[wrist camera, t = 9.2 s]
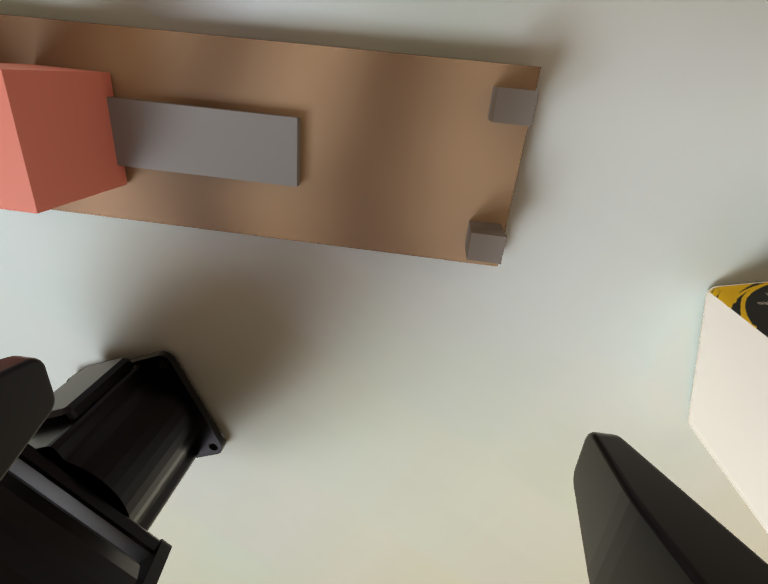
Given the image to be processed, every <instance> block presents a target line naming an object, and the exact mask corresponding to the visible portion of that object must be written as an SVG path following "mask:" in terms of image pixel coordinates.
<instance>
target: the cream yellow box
mask: <svg viewBox="0 0 768 584" xmlns="http://www.w3.org/2000/svg"><path fill="white" fill-rule="evenodd" d="M688 422H689V426H690V427H691V428H692V430H693V431H694V433H695V434H696V435H697V437H698V438H699V439H700V441H701V442H702V444H703V445H704V446H705V448H706V449H707V450H708V452H709V453H710V455H711V456H712V457H713V459H714V460H715V461H716V463H717V464H718V466H719V467H720V468H721V470H722V471H723V473H724V474H725V475H726V477H727V478H728V479H729V481H730V482H731V484H732V485H733V486H734V488H735V489H736V490H737V492H738V493H739V495H740V496H741V497H742V499H743V500H744V502H745V503H746V504H747V506H748V507H749V508H750V510H751V511H752V513H753V514H754V515H755V517H756V518H757V519H758V521H759V522H760V524H761V525H762V526H763V528H764V529H765V531H766V532H767V533H768V281H766V282H755V283H744V284H733V285H722V286H714V287H711V288H710V289H709V290H708V291H707V293H706V298H705V305H704V312H703V319H702V326H701V333H700V340H699V346H698V353H697V360H696V367H695V374H694V381H693V388H692V395H691V402H690V409H689V416H688Z"/></svg>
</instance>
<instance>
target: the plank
mask: <svg viewBox="0 0 768 584" xmlns="http://www.w3.org/2000/svg"><path fill="white" fill-rule="evenodd" d="M0 63H14V64H33V65H43V66H52V67H62V68H71V69H81V70H90V71H100V72H109V73H110V75H111V82H112V88H113V94H114V97H120V98H129V99H139V100H148V101H157V102H166V103H175V104H184V105H194V106H203V107H212V108H221V109H230V110H239V111H249V112H258V113H267V114H276V115H285V116H294V117H301V121H300V185H299V186H297V187H294V186H285V185H277V184H269V183H260V182H252V181H244V180H235V179H227V178H219V177H210V176H202V175H193V174H185V173H177V172H168V171H160V170H152V169H143V168H135V167H127V166H125V171H126V177H127V183H128V184H127V185H124V186H121V187H118V188H115V189H112V190H108V191H105V192H102V193H99V194H96V195H93V196H90V197H87V198H84V199H81V200H77V201H74V202H71V203H68V204H65V205H62V206H59V207H56V208H53V209H52V210H60V211H68V212H75V213H83V214H91V215H99V216H107V217H115V218H122V219H130V220H138V221H146V222H154V223H162V224H169V225H177V226H185V227H193V228H201V229H209V230H216V231H224V232H232V233H240V234H248V235H256V236H263V237H271V238H279V239H287V240H295V241H303V242H310V243H318V244H326V245H334V246H342V247H350V248H357V249H365V250H373V251H381V252H389V253H397V254H404V255H412V256H420V257H428V258H436V259H444V260H451V261H459V262H467V263H475V264H483V265H491V266H497V265H498V264H501V260H502V256H503V251H504V247H505V242H506V238H507V237H506V235H505V229H506V224H507V220H508V215H509V210H510V206H511V201H512V197H513V192H514V188H515V183H516V178H517V174H518V169H519V165H520V160H521V155H522V151H523V146H524V142H525V137H526V133H527V128H528V126H531V125H532V120H533V116H534V111H535V107H536V102H537V98H538V93H539V91H536V87H537V82H538V78H539V73H540V68H541V67H533V66H523V65H512V64H502V63H492V62H482V61H472V60H461V59H451V58H441V57H431V56H421V55H410V54H400V53H390V52H380V51H370V50H359V49H349V48H339V47H329V46H319V45H308V44H298V43H288V42H278V41H268V40H257V39H247V38H237V37H227V36H217V35H206V34H196V33H186V32H176V31H165V30H155V29H145V28H135V27H125V26H114V25H104V24H94V23H84V22H74V21H63V20H53V19H43V18H33V17H23V16H12V15H2V14H0Z"/></svg>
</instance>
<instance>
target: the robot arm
mask: <svg viewBox="0 0 768 584" xmlns="http://www.w3.org/2000/svg"><path fill="white" fill-rule="evenodd" d="M162 360H163V361H165V362H166V363H167V364H166V363H164V362H163V361H162ZM215 444H216V445H215ZM224 446H225V440H224V439H223V437H222V435H221V434H220V432H219V430H218V429H217V427H216V425H215V424H214V422H213V420H212V419H211V417H210V415H209V414H208V412H207V410H206V409H205V407H204V405H203V404H202V402H201V400H200V399H199V397H198V395H197V394H196V392H195V390H194V389H193V387H192V385H191V384H190V382H189V380H188V379H187V377H186V375H185V374H184V372H183V370H182V369H181V367H180V365H179V364H178V362H177V360H176V359H175V357H174V356H173V355H172V354H171V353H169V352H166V351H161V352H158V353H154V354H150V355H146V356H142V357H138V358H134V359H131V360H130V359H129V358H124V357H122V358H118V359H114V360H110V361H106V362H102V363H99V364H95V365H91V366H87V367H85V368H84V369H82V370H81V371H80V372H79V373H76V374H74V375H73V376H71V377H70V378H69V379H68V380H67V382H66V383H65V384H64V385H62V386H61V387H60V388H59V389H57V390H56V391H55V392H54V393H53V390H52V387H51V383H50V380H49V377H48V374H47V371H46V368H45V366H44V364H43V363H42V362H41V361H40V360H38V359H36V358H30V357H22V356H11V357H7V358H3V359H0V584H157V582H158V580H159V577H160V575H161V572H162V570H163V567H164V565H165V563H166V560H167V558H168V555H169V553H170V550H171V548H172V546H171V545H170V544H168V543H167V542H166V541H164V540H163V539H161V540H159V539H157V538H156V537H155V536H153V535H152V534H151V533H149V532H148V530H149V528H150V527H151V525H152V524H153V522H154V521H155V519H156V518H157V516H158V514H159V513H160V511H161V510H162V508H163V507H164V505H165V504H166V502H167V501H168V499H169V498H170V496H171V495H172V493H173V492H174V490H175V489H176V487H177V485H178V484H179V482H180V481H181V479H182V478H183V476H184V475H185V473H186V472H187V470H188V469H189V467H190V466H191V464H192V463H193V461H194V460H195V458H198V457H203V456H208V455H214V454H218V453H220V452H221V451H222V450H223V448H224ZM574 490H575V496H576V503H577V509H578V515H579V521H580V528H581V534H582V540H583V547H584V553H585V559H586V565H587V572H588V577H589V582H590V584H768V564H767V563H766V562H765V561H763V560H762V559H761V558H760V557H759V556H758V555H756V554H755V553H754V552H753V551H752V550H751V549H750V548H748V547H747V546H746V545H745V544H744V543H743V542H741V541H740V540H739V539H738V538H737V537H736V536H734V535H733V534H732V533H731V532H730V531H729V530H728V529H726V528H725V527H724V526H723V525H722V524H721V523H719V522H718V521H717V520H716V519H715V518H714V517H712V516H711V515H710V514H709V513H708V512H707V511H706V510H704V509H703V508H702V507H701V506H700V505H699V504H697V503H696V502H695V501H694V500H693V499H692V498H690V497H689V496H688V495H687V494H686V493H685V492H683V491H682V490H681V489H680V488H679V487H678V486H677V485H675V484H674V483H673V482H672V481H671V480H670V479H668V478H667V477H666V476H665V475H664V474H663V473H661V472H660V471H659V470H658V469H657V468H656V467H655V466H653V465H652V464H651V463H650V462H649V461H648V460H646V459H645V458H644V457H643V456H642V455H641V454H639V453H638V452H637V451H636V450H635V449H634V448H633V447H631V446H630V445H629V444H628V443H627V442H626V441H624V440H623V439H622V438H621V437H619V436H617V435H613V434H605V433H597V432H592V433H590V434H588V436H587V437H586V439H585V441H584V444H583V447H582V450H581V453H580V456H579V459H578V462H577V465H576V467H575V471H574Z"/></svg>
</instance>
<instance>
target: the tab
mask: <svg viewBox="0 0 768 584" xmlns="http://www.w3.org/2000/svg"><path fill="white" fill-rule="evenodd" d="M300 121H301V117H294V116H285V115H276V114H267V113H258V112H249V111H239V110H230V109H221V108H212V107H203V106H194V105H184V104H175V103H166V102H157V101H148V100H139V99H129V98H120V97H114V94H113V88H112V82H111V75H110V73H109V72H100V71H90V70H81V69H71V68H62V67H52V66H43V65H33V64H14V63H0V209H7V210H14V211H22V212H30V213H40V212H43V211H47V210H50V209H53V208H56V207H59V206H62V205H65V204H68V203H71V202H74V201H77V200H81V199H84V198H87V197H90V196H93V195H96V194H99V193H102V192H105V191H108V190H112V189H115V188H118V187H121V186H124V185H127V184H128V183H127V177H126V171H125V166H127V167H135V168H143V169H152V170H160V171H168V172H177V173H185V174H193V175H202V176H210V177H219V178H227V179H235V180H244V181H252V182H260V183H269V184H277V185H285V186H294V187H297V186H299V185H300Z"/></svg>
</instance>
